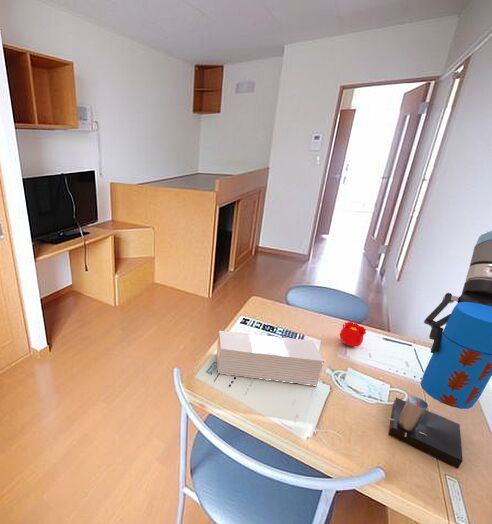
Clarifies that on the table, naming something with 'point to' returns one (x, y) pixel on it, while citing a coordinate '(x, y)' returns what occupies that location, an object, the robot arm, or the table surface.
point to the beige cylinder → (412, 414)
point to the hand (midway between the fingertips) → (465, 362)
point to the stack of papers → (268, 357)
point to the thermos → (461, 357)
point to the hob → (430, 435)
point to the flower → (352, 334)
